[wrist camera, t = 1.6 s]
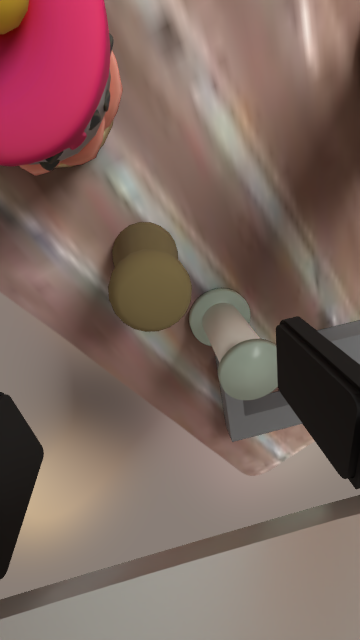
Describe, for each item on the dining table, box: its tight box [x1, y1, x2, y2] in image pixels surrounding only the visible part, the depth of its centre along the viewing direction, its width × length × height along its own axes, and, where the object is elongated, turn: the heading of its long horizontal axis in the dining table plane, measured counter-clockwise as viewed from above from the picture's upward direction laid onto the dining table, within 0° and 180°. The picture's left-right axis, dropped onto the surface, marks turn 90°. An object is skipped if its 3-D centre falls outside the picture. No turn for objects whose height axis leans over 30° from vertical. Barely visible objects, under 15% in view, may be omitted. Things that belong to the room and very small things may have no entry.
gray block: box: [215, 320, 360, 442], centre depth 34 cm, size 20×12×2 cm, turn 101°
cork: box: [108, 222, 192, 332], centre depth 21 cm, size 6×6×11 cm
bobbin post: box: [189, 288, 278, 400], centre depth 25 cm, size 6×6×10 cm
